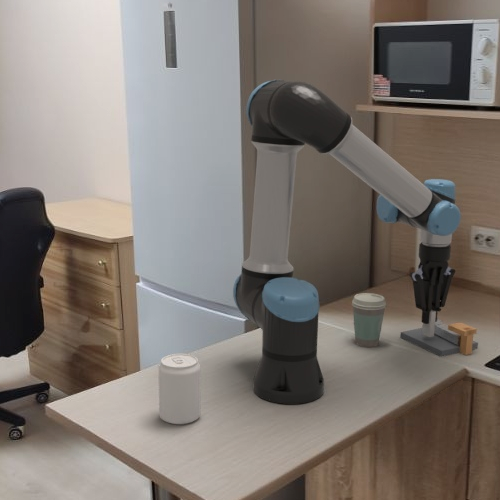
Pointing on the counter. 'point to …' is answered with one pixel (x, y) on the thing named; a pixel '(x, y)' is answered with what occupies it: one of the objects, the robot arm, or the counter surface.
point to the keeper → (464, 336)
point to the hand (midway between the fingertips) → (428, 334)
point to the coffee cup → (368, 318)
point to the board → (432, 342)
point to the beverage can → (179, 389)
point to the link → (446, 332)
